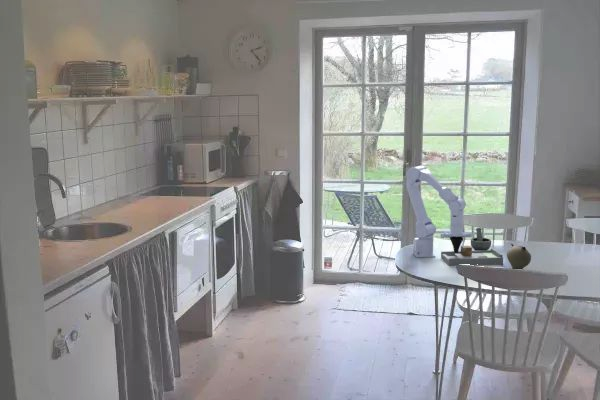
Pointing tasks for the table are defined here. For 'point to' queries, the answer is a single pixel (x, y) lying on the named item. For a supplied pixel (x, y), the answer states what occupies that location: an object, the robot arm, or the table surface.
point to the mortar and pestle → (480, 242)
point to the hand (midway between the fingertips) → (455, 252)
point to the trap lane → (473, 258)
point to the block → (466, 250)
